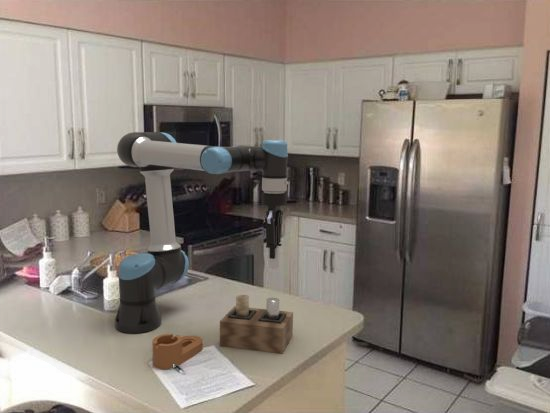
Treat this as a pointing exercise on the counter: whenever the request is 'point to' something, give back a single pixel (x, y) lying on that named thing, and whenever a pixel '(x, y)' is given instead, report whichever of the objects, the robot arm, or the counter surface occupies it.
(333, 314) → the counter surface
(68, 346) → the counter surface
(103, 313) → the counter surface
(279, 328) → the walnut block
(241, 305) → the birch dowel
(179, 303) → the counter surface
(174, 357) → the bracket
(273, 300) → the metal peg
